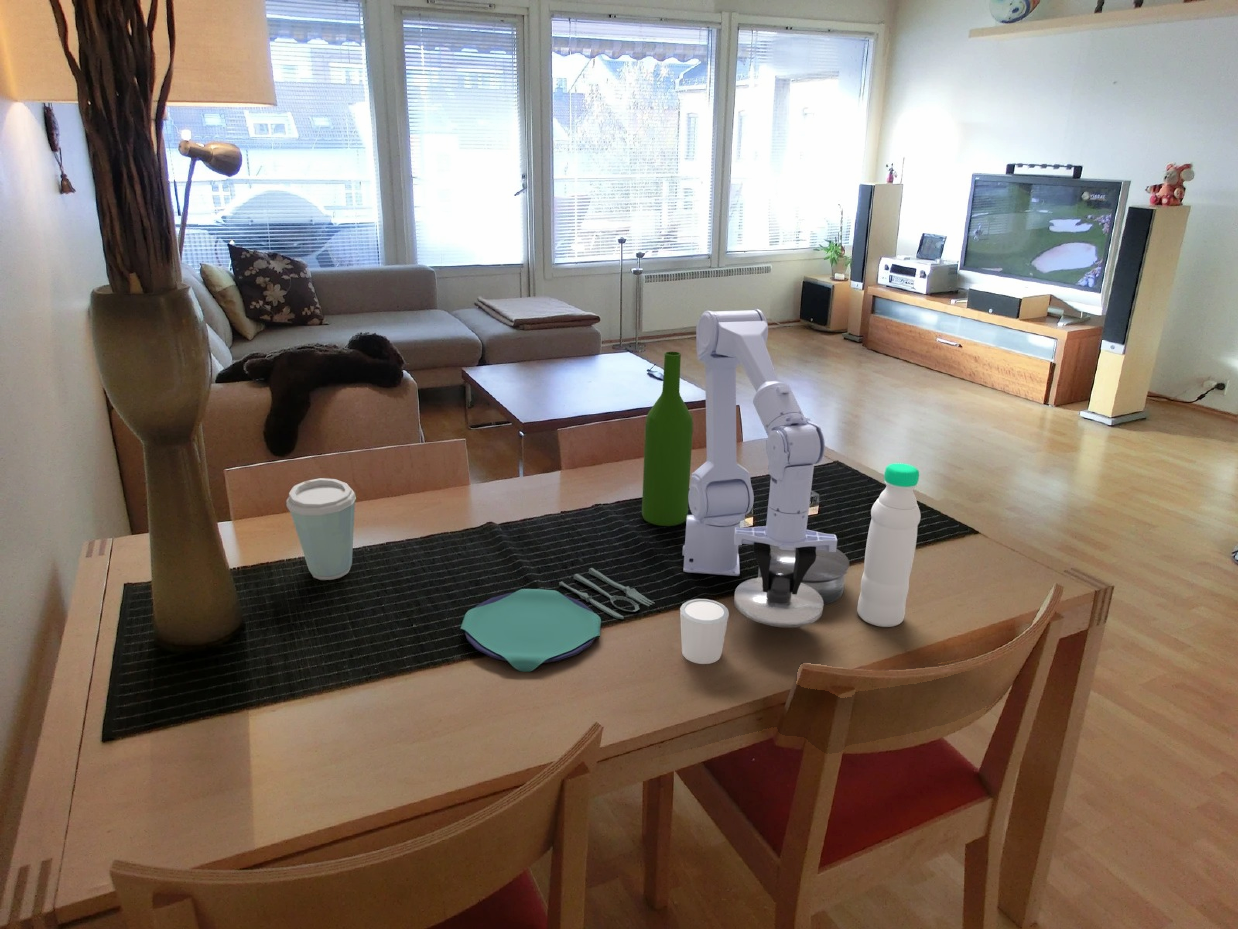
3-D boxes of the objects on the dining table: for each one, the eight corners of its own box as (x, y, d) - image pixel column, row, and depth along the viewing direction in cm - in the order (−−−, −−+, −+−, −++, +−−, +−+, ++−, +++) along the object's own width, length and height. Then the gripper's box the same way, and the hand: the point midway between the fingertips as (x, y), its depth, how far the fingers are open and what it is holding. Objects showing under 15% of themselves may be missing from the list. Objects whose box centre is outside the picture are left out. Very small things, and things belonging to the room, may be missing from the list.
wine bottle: (695, 514, 168) (705, 352, 157) (673, 530, 161) (682, 361, 150) (656, 504, 173) (663, 345, 161) (633, 518, 166) (639, 354, 154)
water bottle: (878, 633, 129) (902, 478, 120) (846, 611, 135) (867, 462, 126) (913, 622, 132) (939, 471, 123) (880, 602, 138) (902, 456, 129)
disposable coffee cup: (375, 572, 142) (368, 488, 137) (315, 594, 135) (305, 507, 130) (341, 551, 149) (333, 471, 144) (282, 571, 142) (272, 488, 136)
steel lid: (735, 623, 122) (737, 591, 120) (733, 580, 134) (735, 550, 132) (827, 630, 121) (831, 598, 119) (817, 587, 133) (821, 557, 131)
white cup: (712, 672, 118) (715, 628, 116) (668, 656, 121) (671, 613, 119) (733, 649, 124) (737, 606, 121) (691, 634, 127) (693, 593, 124)
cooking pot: (757, 603, 136) (759, 575, 135) (753, 561, 150) (755, 535, 148) (851, 610, 135) (855, 582, 133) (839, 567, 149) (842, 541, 147)
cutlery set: (436, 630, 126) (436, 616, 126) (586, 570, 147) (586, 558, 146) (520, 691, 113) (520, 676, 113) (672, 616, 134) (673, 603, 133)
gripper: (737, 513, 119) (730, 599, 124) (844, 521, 117) (832, 607, 122) (736, 494, 125) (729, 576, 130) (837, 501, 124) (826, 583, 129)
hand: (779, 590), depth 127 cm, fingers closed on steel lid, 4 cm apart
